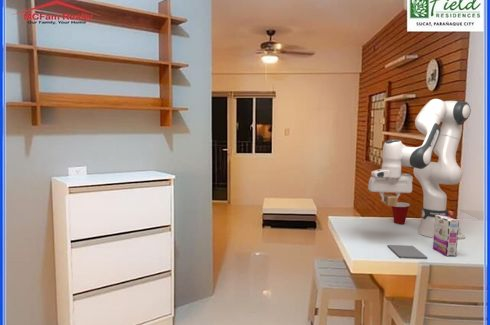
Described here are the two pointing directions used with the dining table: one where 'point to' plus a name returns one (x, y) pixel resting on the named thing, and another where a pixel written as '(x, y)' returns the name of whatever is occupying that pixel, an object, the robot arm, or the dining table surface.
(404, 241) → the dining table surface
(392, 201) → the oak block
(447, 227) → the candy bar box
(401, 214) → the plastic cup
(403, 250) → the slate mat
